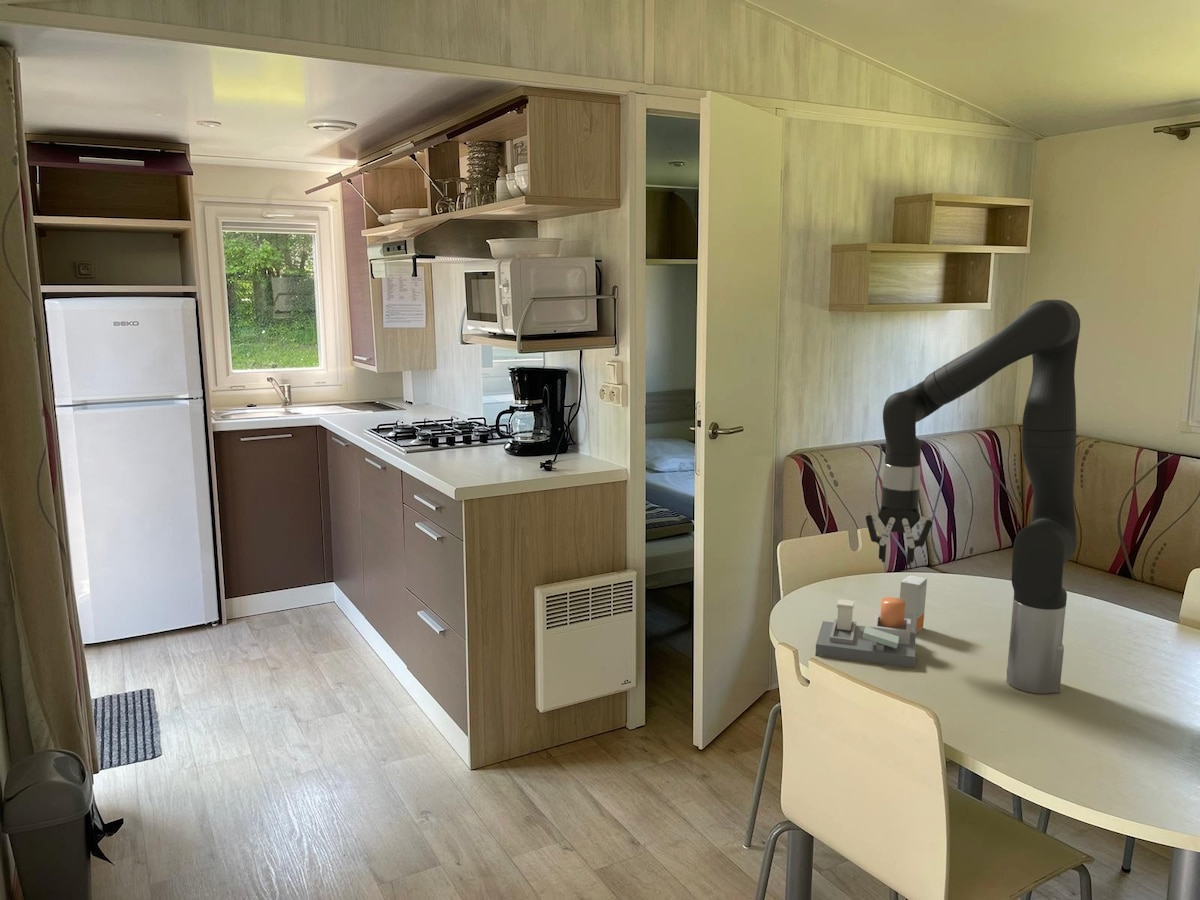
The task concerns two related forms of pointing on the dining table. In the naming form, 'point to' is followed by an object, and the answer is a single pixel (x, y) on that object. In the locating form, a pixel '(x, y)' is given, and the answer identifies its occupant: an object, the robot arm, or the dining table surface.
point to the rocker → (881, 637)
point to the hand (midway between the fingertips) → (896, 562)
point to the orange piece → (892, 612)
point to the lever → (845, 614)
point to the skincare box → (914, 600)
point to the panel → (867, 644)
